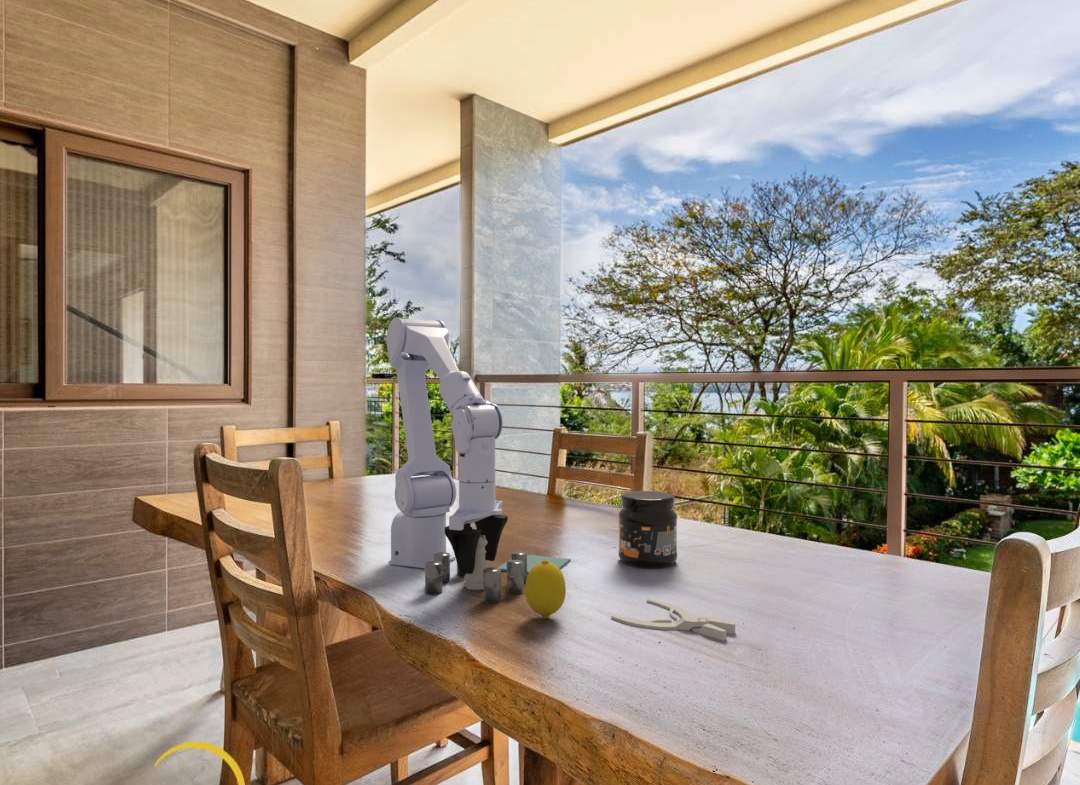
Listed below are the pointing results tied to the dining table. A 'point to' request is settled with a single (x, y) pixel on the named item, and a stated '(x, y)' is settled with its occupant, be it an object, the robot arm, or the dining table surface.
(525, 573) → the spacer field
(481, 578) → the rook chess piece
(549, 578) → the lemon
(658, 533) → the supplement container
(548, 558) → the mat
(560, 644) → the dining table surface
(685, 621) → the pliers
